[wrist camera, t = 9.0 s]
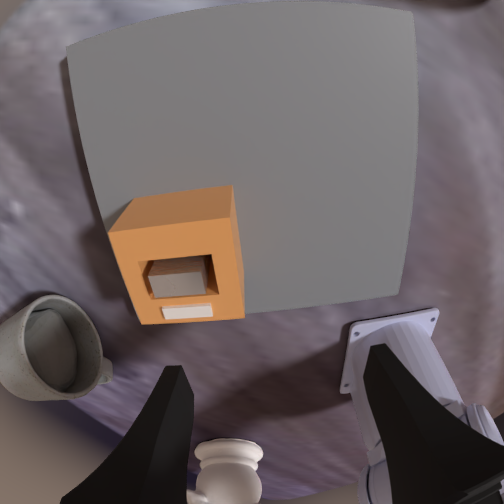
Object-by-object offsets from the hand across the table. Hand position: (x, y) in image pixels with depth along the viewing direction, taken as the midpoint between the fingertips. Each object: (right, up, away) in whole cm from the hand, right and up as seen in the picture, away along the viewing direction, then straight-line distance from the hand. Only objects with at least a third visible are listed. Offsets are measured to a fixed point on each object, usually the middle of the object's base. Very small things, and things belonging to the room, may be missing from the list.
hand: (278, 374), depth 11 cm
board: (-1, +9, +6) cm, 11 cm away
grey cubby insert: (-4, +5, +6) cm, 9 cm away
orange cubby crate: (-4, +5, +6) cm, 9 cm away
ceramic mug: (-17, -2, +12) cm, 21 cm away
